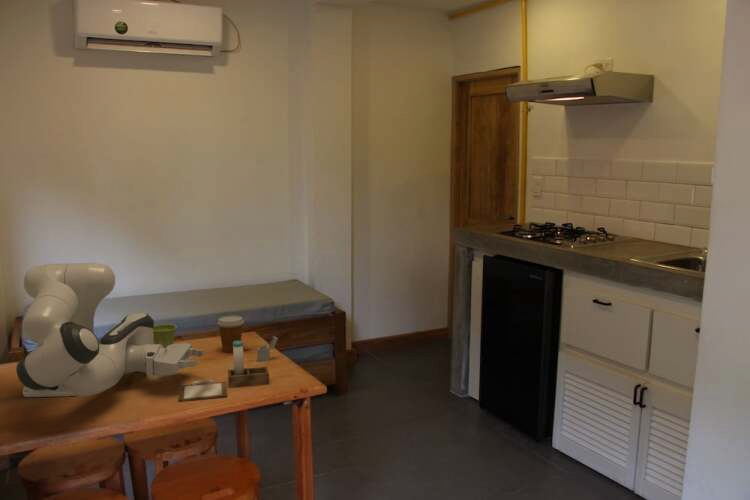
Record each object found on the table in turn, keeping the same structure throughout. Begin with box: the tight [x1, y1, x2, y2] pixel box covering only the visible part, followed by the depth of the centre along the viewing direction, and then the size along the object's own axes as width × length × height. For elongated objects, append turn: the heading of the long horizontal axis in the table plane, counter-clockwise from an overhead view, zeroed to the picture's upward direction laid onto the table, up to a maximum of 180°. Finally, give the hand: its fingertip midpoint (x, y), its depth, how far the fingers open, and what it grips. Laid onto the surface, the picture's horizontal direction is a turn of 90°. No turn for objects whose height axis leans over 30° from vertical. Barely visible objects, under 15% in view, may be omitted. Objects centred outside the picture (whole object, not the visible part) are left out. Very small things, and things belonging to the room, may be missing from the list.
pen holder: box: [227, 366, 270, 389], centre depth 203 cm, size 12×7×4 cm, turn 105°
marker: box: [232, 340, 244, 376], centre depth 202 cm, size 3×3×14 cm
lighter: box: [256, 336, 279, 362], centre depth 224 cm, size 7×2×8 cm, turn 113°
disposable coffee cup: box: [217, 315, 245, 354], centre depth 234 cm, size 10×10×12 cm
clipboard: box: [177, 379, 228, 403], centre depth 195 cm, size 14×12×2 cm
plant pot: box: [153, 323, 178, 348], centre depth 234 cm, size 9×9×9 cm
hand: (199, 357), depth 201 cm, fingers open, 8 cm apart
